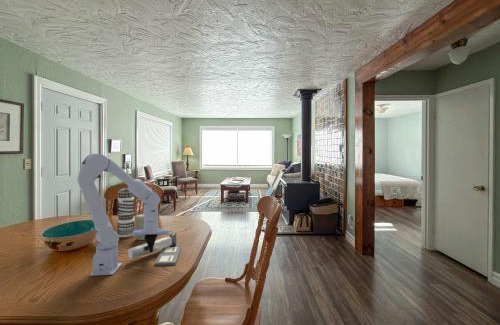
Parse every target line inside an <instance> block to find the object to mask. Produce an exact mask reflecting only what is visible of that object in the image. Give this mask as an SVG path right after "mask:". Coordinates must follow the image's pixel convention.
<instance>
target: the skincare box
mask: <svg viewBox="0 0 500 325" xmlns="http://www.w3.org/2000/svg"><path fill="white" fill-rule="evenodd" d="M143 229H144V214H138V215H135V230H143ZM135 237H136V238H135V239H136V240H138V241H139V240H141V241H145V239H144V238H145V235H139V236H135Z"/></svg>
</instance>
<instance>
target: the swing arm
mask: <svg viewBox="0 0 500 325" xmlns="http://www.w3.org/2000/svg"><path fill="white" fill-rule="evenodd" d="M170 245H172V238H171V237H170V236H165V237H162V238H158V239H156V240H155V243H154V247H153V252H156V251H160V250H162V249H163V248H165V247H168V246H170ZM153 252H152V253H153ZM147 254H151V253H150V250H149V246H148V244H147V242H146V243H143V244H139V245H137V246H134V247H130V248H128V250H127V258H128V259H131V260H133V259H137V258H140V257H142V256H145V255H147Z"/></svg>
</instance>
